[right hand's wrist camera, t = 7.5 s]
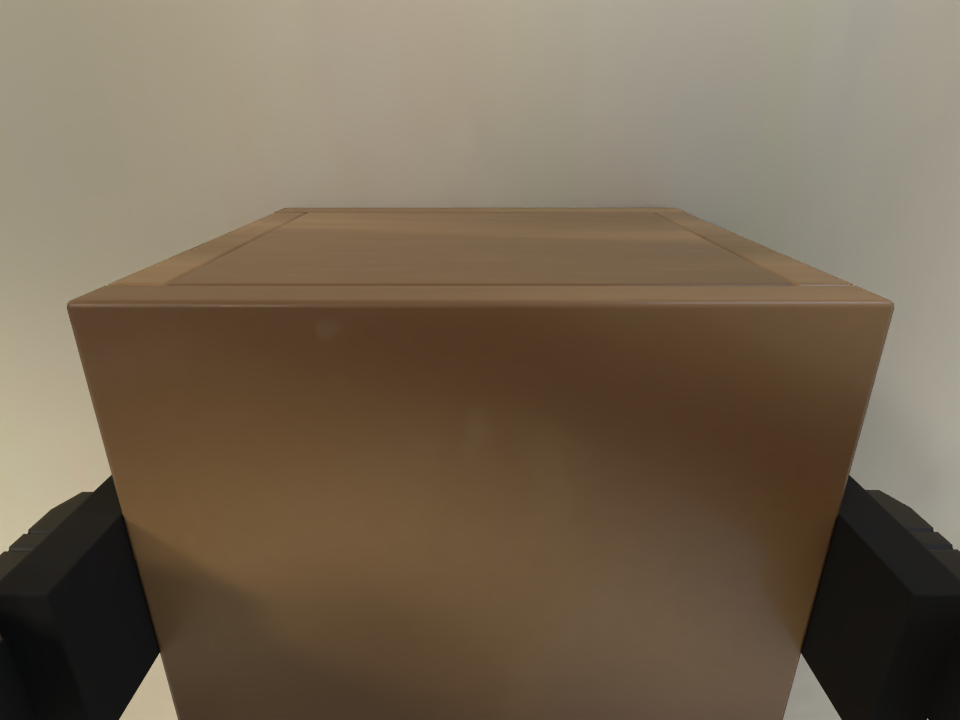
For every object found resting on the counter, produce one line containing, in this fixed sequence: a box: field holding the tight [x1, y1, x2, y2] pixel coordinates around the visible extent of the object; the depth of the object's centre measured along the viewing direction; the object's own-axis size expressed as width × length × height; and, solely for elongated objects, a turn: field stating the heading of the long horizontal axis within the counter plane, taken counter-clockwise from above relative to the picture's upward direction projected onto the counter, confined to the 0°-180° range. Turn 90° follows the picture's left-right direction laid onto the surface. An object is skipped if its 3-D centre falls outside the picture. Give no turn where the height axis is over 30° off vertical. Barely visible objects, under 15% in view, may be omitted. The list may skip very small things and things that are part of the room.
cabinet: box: [67, 208, 894, 720], centre depth 15 cm, size 17×10×9 cm, turn 0°
